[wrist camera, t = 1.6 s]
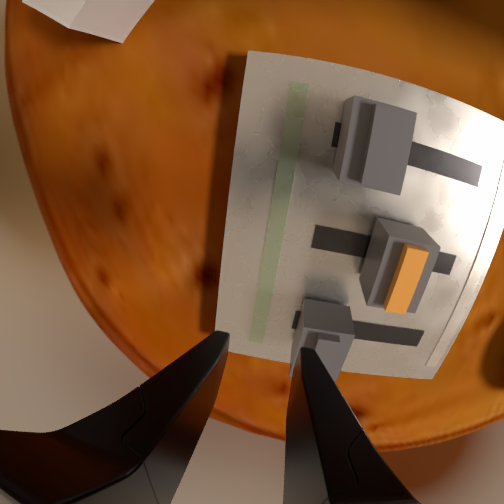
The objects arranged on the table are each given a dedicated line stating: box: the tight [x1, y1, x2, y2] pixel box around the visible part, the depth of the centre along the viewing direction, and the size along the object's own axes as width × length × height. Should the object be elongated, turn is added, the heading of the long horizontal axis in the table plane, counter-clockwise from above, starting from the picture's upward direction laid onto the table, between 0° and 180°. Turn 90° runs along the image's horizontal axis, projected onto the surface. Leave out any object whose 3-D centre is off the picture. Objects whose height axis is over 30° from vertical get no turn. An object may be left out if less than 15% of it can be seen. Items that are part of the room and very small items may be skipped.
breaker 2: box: [333, 95, 417, 196], centre depth 14 cm, size 3×4×4 cm
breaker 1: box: [289, 298, 355, 382], centre depth 19 cm, size 3×4×4 cm
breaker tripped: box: [359, 217, 441, 314], centre depth 16 cm, size 3×4×4 cm
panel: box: [215, 51, 504, 379], centre depth 19 cm, size 18×20×2 cm
